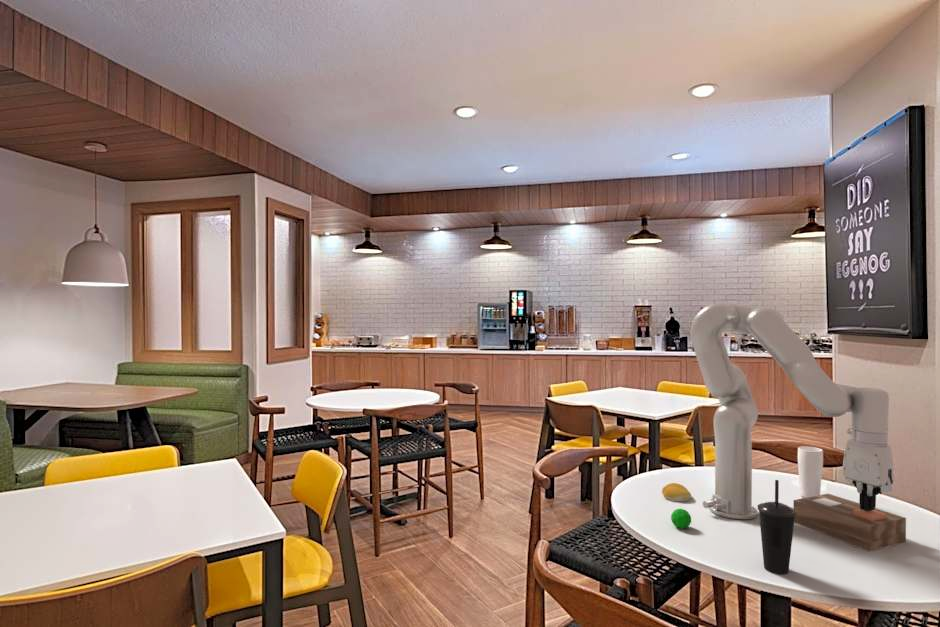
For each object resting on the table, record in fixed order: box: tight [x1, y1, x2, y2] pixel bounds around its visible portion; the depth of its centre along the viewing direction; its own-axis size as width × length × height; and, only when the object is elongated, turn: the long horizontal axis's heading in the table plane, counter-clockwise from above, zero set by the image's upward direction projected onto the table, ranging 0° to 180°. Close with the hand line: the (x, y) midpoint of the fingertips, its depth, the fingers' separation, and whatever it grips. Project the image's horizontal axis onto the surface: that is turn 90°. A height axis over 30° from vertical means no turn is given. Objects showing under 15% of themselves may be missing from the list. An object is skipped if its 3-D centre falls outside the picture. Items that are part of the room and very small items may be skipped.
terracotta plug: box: [853, 509, 886, 521], centre depth 143 cm, size 5×5×4 cm
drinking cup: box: [757, 479, 796, 575], centre depth 126 cm, size 8×8×20 cm
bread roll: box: [661, 482, 692, 502], centre depth 174 cm, size 8×9×4 cm
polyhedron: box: [670, 508, 692, 529], centre depth 151 cm, size 5×5×5 cm
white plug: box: [812, 498, 842, 507], centre depth 153 cm, size 5×5×4 cm
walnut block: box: [792, 493, 907, 552], centre depth 148 cm, size 14×20×6 cm
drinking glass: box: [797, 445, 824, 498], centre depth 174 cm, size 7×7×15 cm
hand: (867, 509), depth 143 cm, fingers closed
